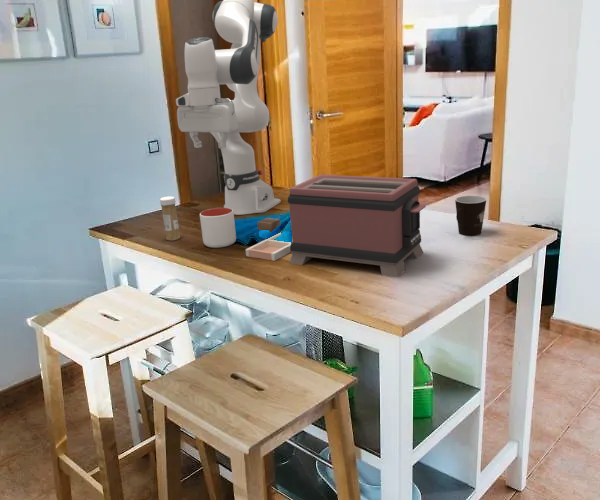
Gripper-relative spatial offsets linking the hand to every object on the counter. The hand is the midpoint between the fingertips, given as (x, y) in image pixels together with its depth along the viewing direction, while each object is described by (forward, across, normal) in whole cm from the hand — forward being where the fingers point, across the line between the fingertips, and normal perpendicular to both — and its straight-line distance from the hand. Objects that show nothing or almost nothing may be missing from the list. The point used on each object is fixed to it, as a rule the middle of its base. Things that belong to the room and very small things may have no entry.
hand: (210, 147), depth 173 cm
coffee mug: (+29, -63, -36) cm, 78 cm away
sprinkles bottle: (+29, +19, +2) cm, 35 cm away
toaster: (+30, -45, -6) cm, 54 cm away
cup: (+29, +1, -1) cm, 29 cm away
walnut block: (+29, -9, -13) cm, 33 cm away
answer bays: (+29, -19, -4) cm, 35 cm away
